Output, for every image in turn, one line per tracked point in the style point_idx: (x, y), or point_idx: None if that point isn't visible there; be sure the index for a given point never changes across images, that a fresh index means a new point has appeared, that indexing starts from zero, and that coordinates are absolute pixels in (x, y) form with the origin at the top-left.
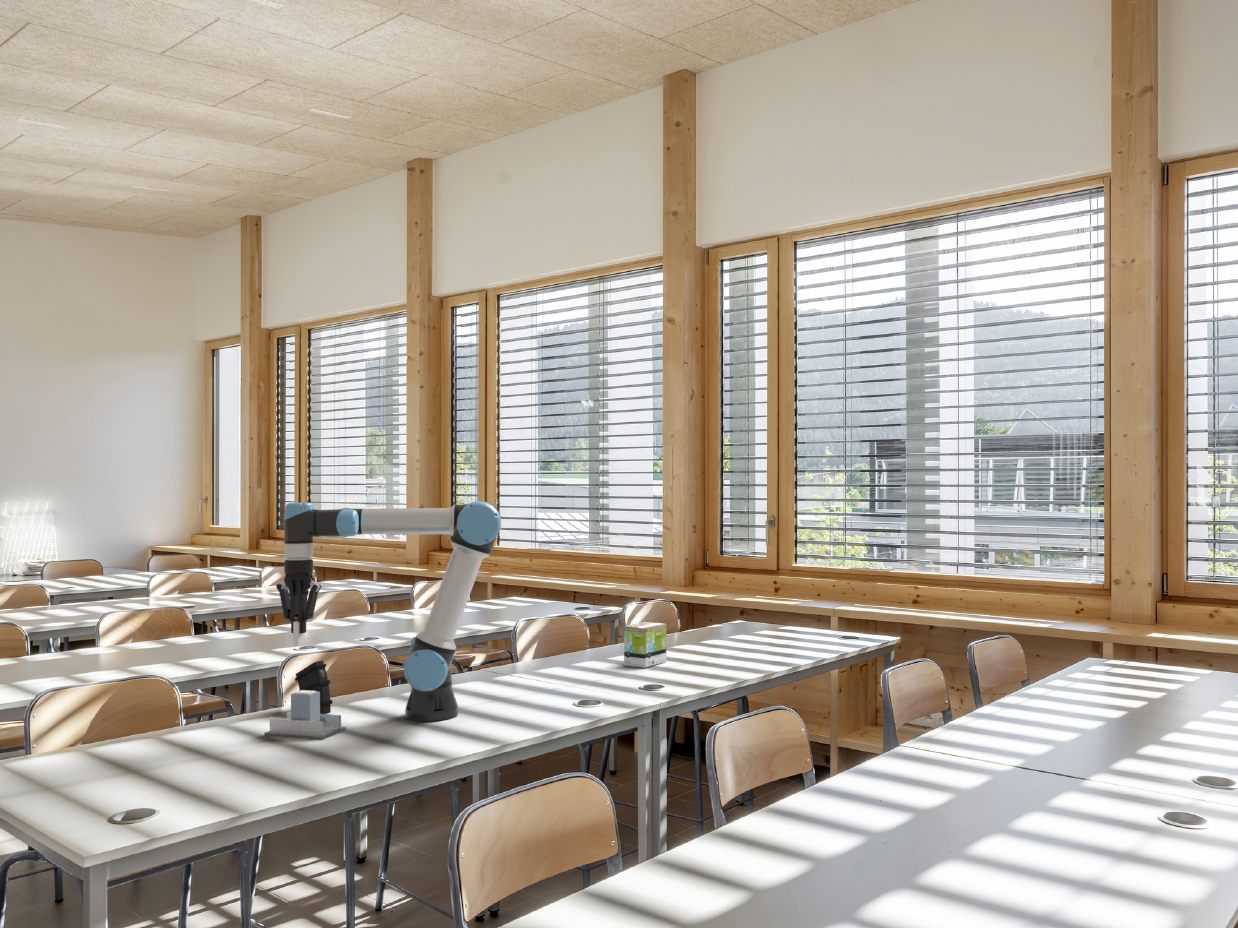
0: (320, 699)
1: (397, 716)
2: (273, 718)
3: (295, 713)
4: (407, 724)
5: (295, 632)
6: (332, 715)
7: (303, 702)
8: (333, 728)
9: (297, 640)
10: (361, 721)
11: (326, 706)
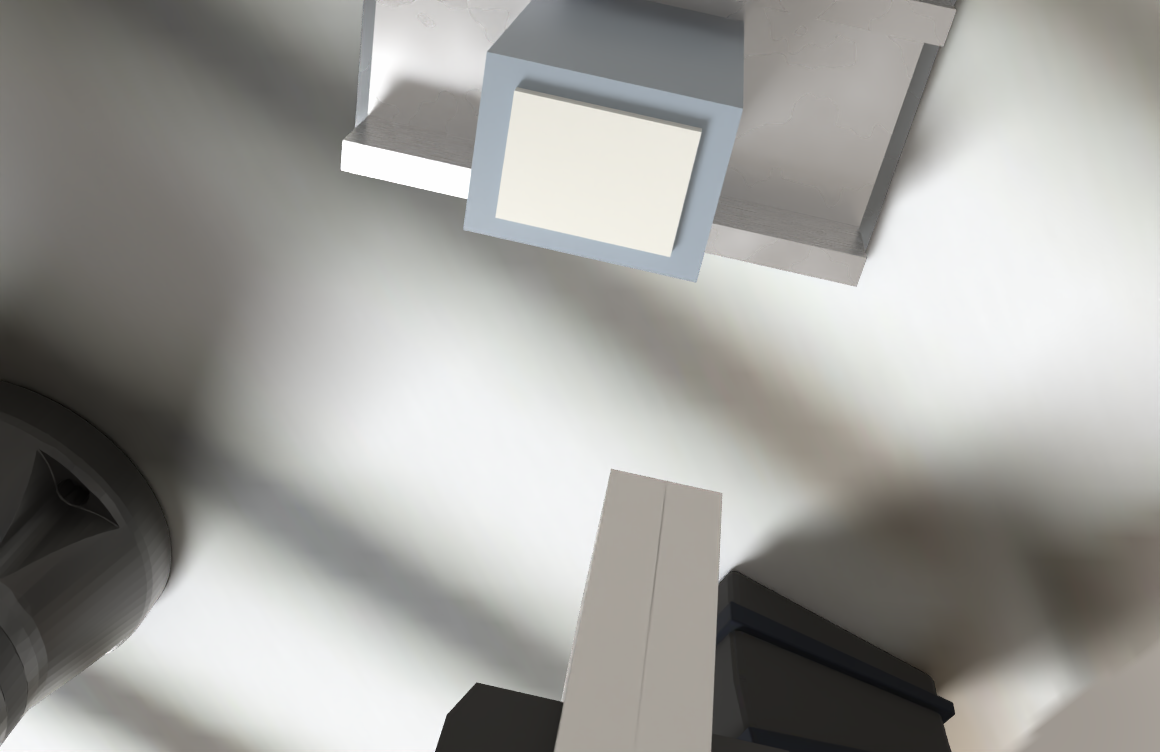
0: (750, 648)
1: (209, 499)
2: (918, 19)
3: (692, 42)
4: (24, 308)
5: (648, 696)
6: (405, 152)
7: (585, 49)
8: (376, 35)
9: (613, 547)
10: (372, 386)
11: None
